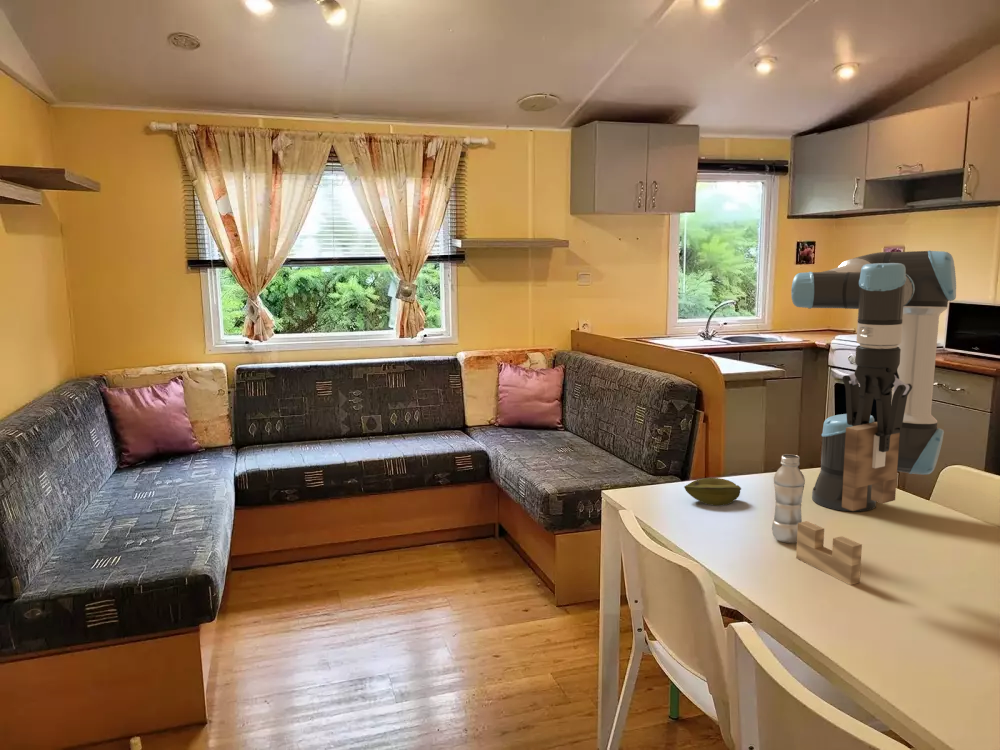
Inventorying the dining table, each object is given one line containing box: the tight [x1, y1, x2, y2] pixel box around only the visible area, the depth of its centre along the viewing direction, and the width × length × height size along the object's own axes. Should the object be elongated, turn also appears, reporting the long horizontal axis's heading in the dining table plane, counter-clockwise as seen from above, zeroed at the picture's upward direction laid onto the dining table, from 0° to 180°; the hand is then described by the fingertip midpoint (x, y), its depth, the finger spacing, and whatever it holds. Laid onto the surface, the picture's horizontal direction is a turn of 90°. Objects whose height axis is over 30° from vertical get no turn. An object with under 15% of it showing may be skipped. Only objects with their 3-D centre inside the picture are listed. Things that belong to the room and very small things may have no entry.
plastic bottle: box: [771, 453, 806, 544], centre depth 160 cm, size 6×7×20 cm
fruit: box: [683, 477, 742, 507], centre depth 188 cm, size 11×12×7 cm
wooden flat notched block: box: [842, 421, 900, 512], centre depth 138 cm, size 12×2×16 cm, turn 115°
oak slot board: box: [795, 520, 863, 586], centre depth 146 cm, size 2×14×8 cm, turn 22°
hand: (870, 464), depth 138 cm, fingers closed on wooden flat notched block, 2 cm apart
